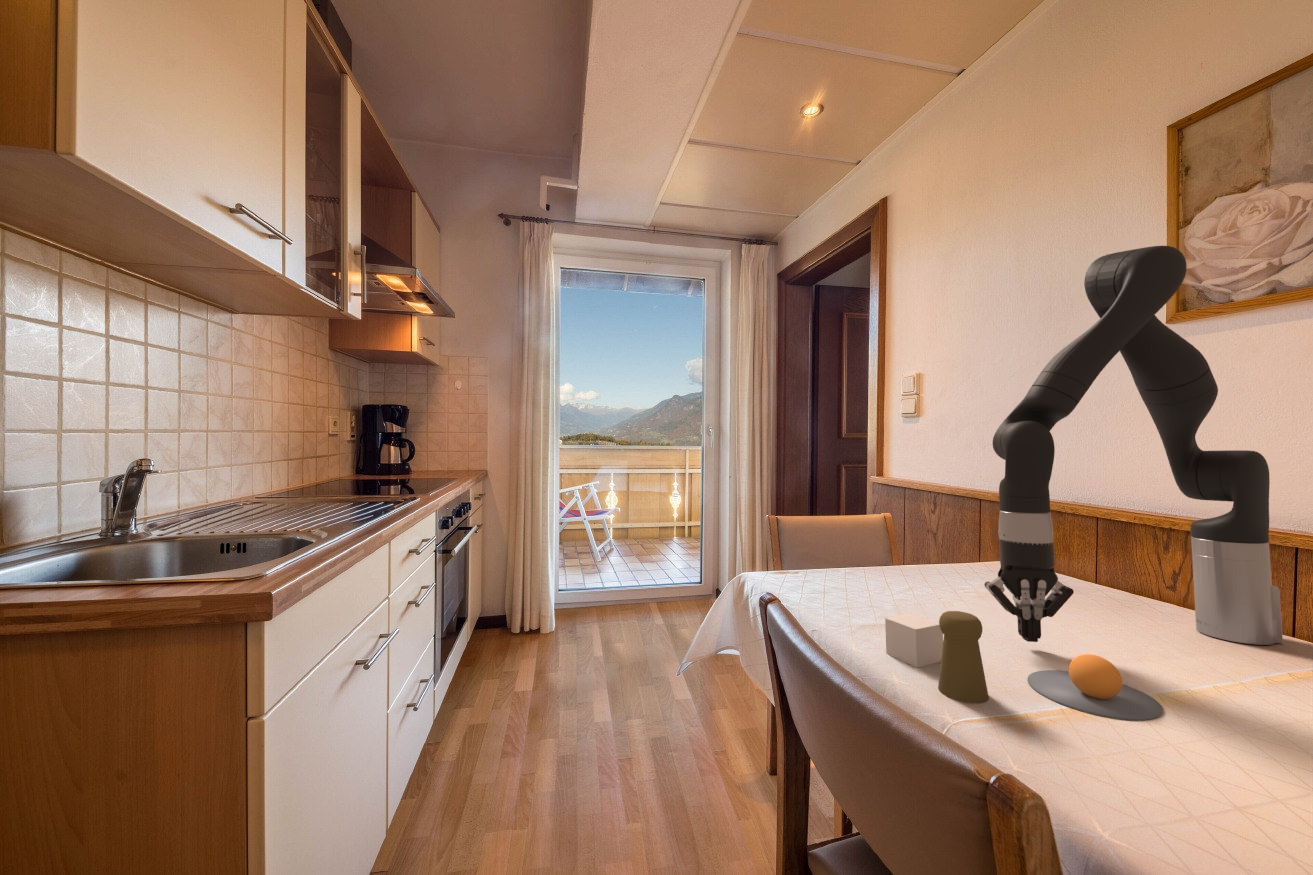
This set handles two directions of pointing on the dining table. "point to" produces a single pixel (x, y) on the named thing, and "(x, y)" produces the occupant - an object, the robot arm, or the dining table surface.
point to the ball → (1095, 676)
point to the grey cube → (914, 639)
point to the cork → (962, 658)
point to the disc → (1119, 707)
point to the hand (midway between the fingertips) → (1030, 639)
